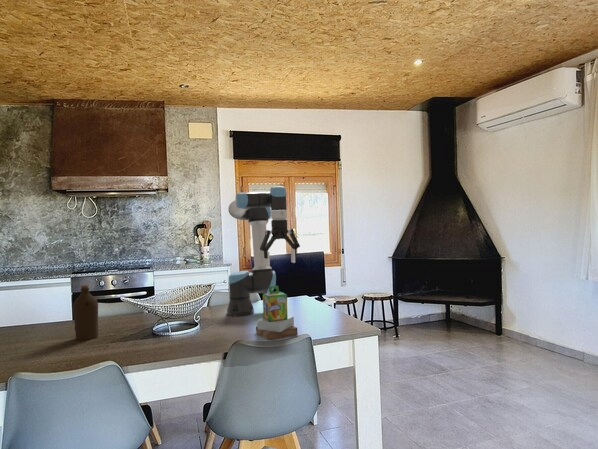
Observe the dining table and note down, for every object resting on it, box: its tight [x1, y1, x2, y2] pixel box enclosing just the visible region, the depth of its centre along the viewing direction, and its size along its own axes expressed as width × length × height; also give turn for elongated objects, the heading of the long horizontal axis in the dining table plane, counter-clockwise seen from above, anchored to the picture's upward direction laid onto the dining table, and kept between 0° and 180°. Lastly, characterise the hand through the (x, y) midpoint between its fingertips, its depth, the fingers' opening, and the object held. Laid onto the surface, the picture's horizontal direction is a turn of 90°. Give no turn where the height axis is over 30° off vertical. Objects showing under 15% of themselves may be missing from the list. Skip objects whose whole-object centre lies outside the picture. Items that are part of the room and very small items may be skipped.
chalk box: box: [262, 285, 288, 321], centre depth 184 cm, size 9×9×15 cm
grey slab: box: [257, 315, 295, 332], centre depth 184 cm, size 12×12×4 cm
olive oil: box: [72, 284, 99, 342], centre depth 190 cm, size 11×11×25 cm
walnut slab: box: [255, 325, 298, 341], centre depth 184 cm, size 14×14×4 cm
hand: (280, 264), depth 191 cm, fingers open, 13 cm apart
